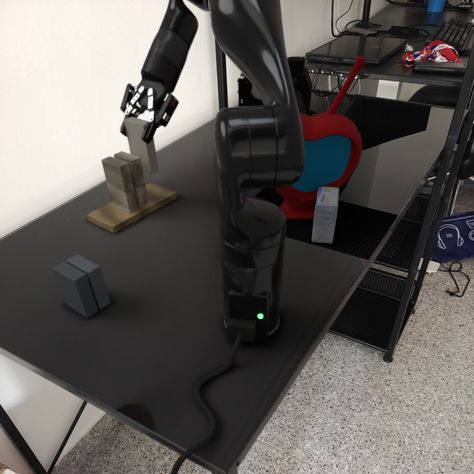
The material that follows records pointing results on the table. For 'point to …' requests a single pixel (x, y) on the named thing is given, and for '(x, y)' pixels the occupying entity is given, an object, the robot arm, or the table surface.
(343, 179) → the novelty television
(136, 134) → the cream book
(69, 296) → the grey books
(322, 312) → the table surface
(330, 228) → the medicine box
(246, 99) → the typewriter
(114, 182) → the rack
